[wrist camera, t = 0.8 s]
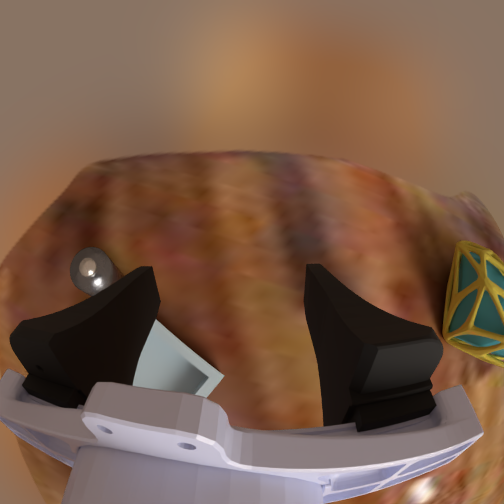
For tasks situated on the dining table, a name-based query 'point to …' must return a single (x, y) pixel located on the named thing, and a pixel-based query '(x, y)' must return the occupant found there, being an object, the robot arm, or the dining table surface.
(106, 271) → the battery cell
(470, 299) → the decorative object
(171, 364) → the dish
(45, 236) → the dining table surface
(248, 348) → the dining table surface
